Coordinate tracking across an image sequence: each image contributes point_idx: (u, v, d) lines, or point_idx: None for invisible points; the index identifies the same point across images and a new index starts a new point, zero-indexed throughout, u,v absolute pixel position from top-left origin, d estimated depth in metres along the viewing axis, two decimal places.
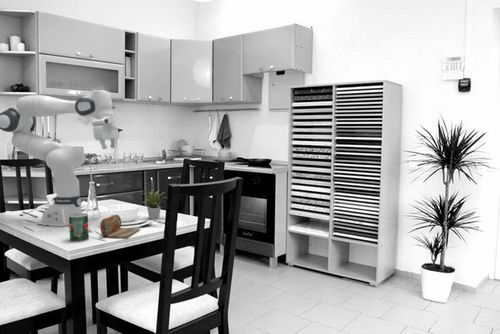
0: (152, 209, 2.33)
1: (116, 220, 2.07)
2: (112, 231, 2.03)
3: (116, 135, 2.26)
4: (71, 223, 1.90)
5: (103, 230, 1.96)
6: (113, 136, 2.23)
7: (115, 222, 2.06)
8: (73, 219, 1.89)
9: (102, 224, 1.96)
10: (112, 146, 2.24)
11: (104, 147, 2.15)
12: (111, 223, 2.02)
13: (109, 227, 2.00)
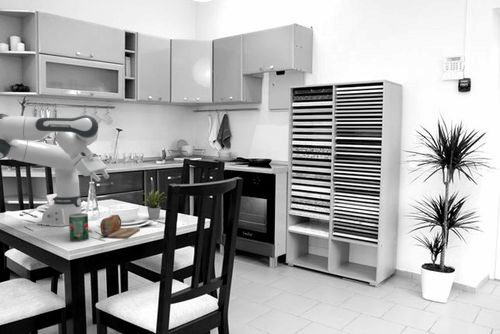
0: (152, 209, 2.33)
1: (116, 220, 2.07)
2: (112, 231, 2.03)
3: (103, 165, 2.09)
4: (71, 223, 1.90)
5: (103, 230, 1.96)
6: (100, 166, 2.06)
7: (115, 222, 2.06)
8: (73, 219, 1.89)
9: (102, 224, 1.96)
10: (106, 176, 2.07)
11: (98, 178, 1.98)
12: (111, 223, 2.02)
13: (109, 227, 2.00)
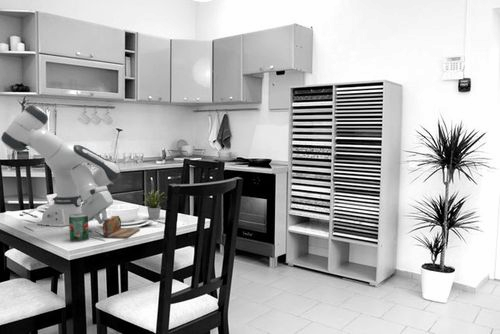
0: (152, 209, 2.33)
1: (117, 221, 2.07)
2: (113, 232, 2.03)
3: None
4: (71, 223, 1.90)
5: (106, 231, 1.96)
6: None
7: (116, 223, 2.06)
8: (73, 219, 1.89)
9: (105, 225, 1.96)
10: (102, 221, 2.02)
11: (106, 217, 2.00)
12: (112, 224, 2.02)
13: (111, 228, 2.00)
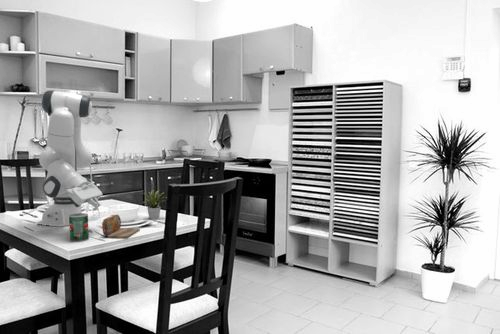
0: (152, 209, 2.33)
1: (116, 220, 2.07)
2: (113, 231, 2.03)
3: None
4: (71, 223, 1.90)
5: (106, 230, 1.96)
6: None
7: (115, 222, 2.06)
8: (73, 219, 1.89)
9: (104, 224, 1.96)
10: None
11: None
12: (112, 223, 2.02)
13: (110, 227, 2.00)
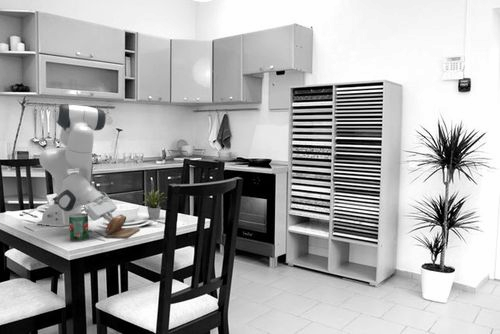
0: (152, 209, 2.33)
1: (122, 221, 2.07)
2: (114, 231, 2.03)
3: None
4: (71, 223, 1.90)
5: (109, 230, 1.96)
6: None
7: (120, 223, 2.06)
8: (73, 219, 1.89)
9: (110, 224, 1.96)
10: None
11: None
12: (117, 224, 2.02)
13: (114, 227, 2.00)
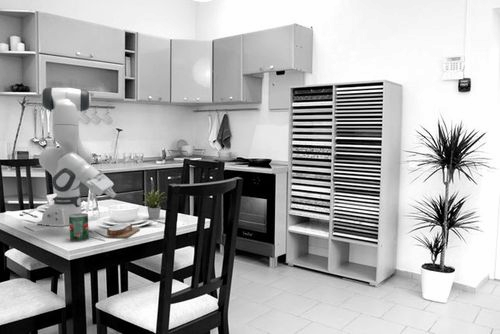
0: (152, 209, 2.33)
1: None
2: None
3: None
4: (71, 223, 1.90)
5: (110, 234, 1.96)
6: None
7: None
8: (73, 219, 1.89)
9: (117, 232, 1.96)
10: None
11: None
12: None
13: None
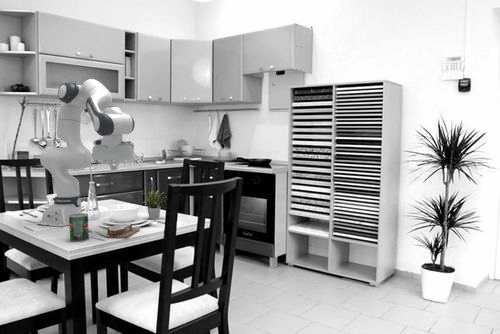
0: (152, 209, 2.33)
1: None
2: None
3: (124, 157, 2.07)
4: (71, 223, 1.90)
5: (110, 234, 1.96)
6: (118, 158, 2.08)
7: None
8: (73, 219, 1.89)
9: (117, 232, 1.96)
10: None
11: None
12: None
13: None
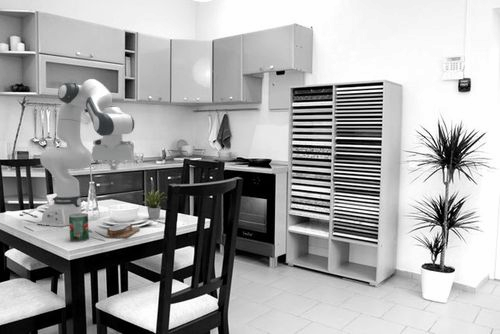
0: (152, 209, 2.33)
1: None
2: None
3: (124, 157, 2.07)
4: (71, 223, 1.90)
5: (110, 234, 1.96)
6: (117, 158, 2.08)
7: None
8: (73, 219, 1.89)
9: (117, 232, 1.96)
10: None
11: None
12: None
13: None
